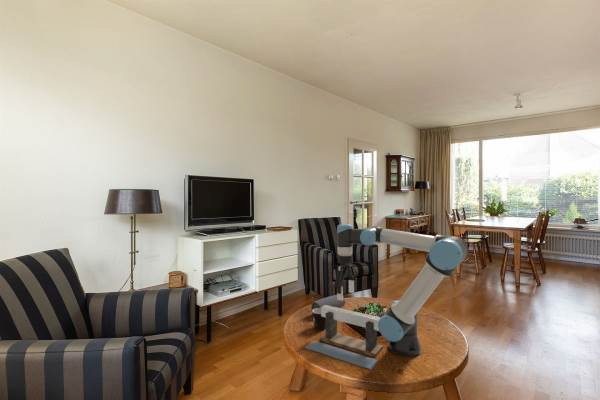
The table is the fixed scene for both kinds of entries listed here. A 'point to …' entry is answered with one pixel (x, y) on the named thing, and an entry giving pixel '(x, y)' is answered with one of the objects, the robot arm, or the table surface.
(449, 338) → the table surface
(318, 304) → the bluetooth speaker
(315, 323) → the coffee mug
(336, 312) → the rail
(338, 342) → the wooden stand
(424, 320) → the table surface
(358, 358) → the mat
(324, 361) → the table surface
